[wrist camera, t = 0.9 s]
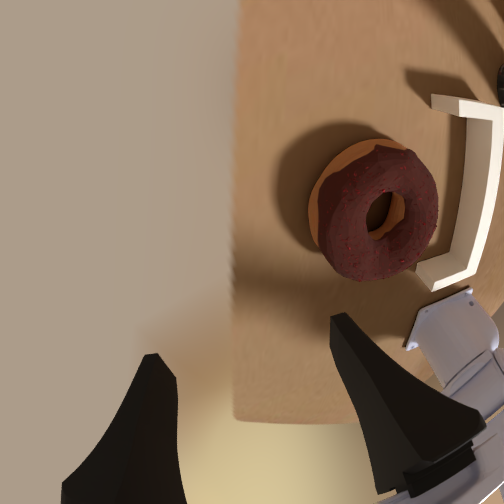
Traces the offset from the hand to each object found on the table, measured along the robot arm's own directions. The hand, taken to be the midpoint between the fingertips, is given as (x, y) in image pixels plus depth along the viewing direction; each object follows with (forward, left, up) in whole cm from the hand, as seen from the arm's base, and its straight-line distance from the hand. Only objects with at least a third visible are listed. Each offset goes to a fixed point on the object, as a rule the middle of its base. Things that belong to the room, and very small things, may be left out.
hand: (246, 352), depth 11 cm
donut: (-10, 0, -10) cm, 14 cm away
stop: (-20, 0, -9) cm, 22 cm away
